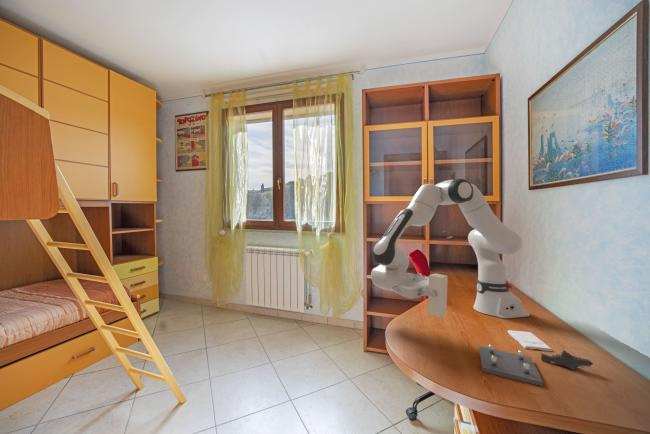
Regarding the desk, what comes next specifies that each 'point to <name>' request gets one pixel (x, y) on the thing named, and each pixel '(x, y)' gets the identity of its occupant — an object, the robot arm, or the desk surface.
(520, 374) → the plate
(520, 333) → the external hard drive
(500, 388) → the desk surface
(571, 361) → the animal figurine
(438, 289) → the cream column
